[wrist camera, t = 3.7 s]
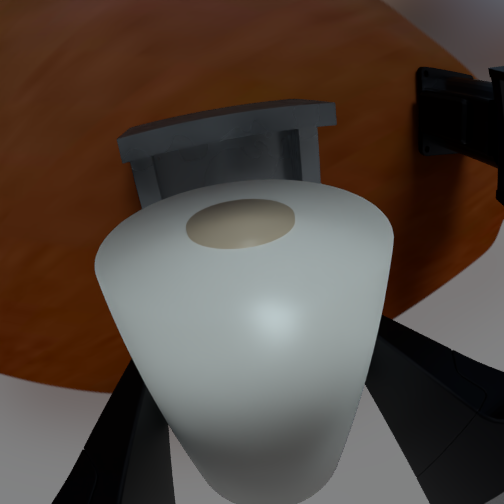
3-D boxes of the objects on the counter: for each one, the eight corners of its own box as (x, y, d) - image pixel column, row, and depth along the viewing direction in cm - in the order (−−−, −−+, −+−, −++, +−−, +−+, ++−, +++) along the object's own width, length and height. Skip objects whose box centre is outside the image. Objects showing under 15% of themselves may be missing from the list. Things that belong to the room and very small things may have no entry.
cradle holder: (295, 98, 16) (335, 102, 12) (307, 299, 23) (334, 339, 19) (129, 128, 14) (116, 139, 11) (187, 331, 21) (195, 380, 18)
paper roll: (98, 210, 7) (89, 377, 3) (292, 165, 9) (457, 238, 4) (180, 418, 12) (228, 531, 7) (296, 374, 13) (367, 465, 9)
